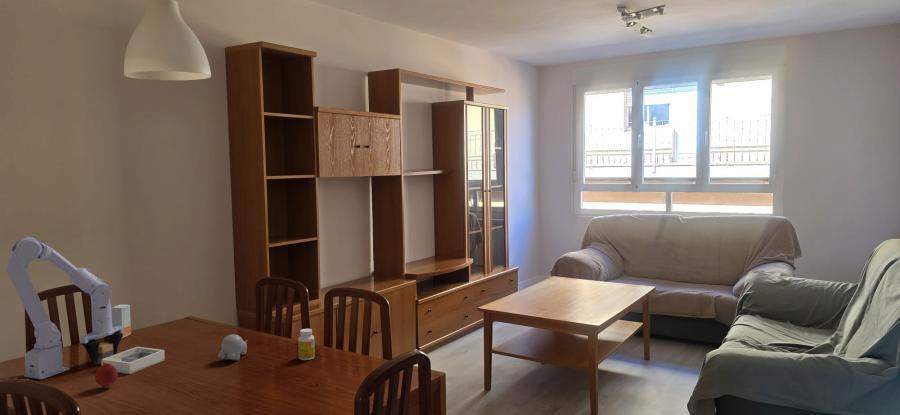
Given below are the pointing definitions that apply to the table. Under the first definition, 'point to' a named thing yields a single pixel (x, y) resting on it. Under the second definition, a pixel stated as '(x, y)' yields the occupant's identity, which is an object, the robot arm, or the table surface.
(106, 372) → the onion
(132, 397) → the table surface
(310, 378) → the table surface
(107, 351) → the block
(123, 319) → the skincare box
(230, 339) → the chubby cartoon animal
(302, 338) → the supplement bottle
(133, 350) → the walled box
